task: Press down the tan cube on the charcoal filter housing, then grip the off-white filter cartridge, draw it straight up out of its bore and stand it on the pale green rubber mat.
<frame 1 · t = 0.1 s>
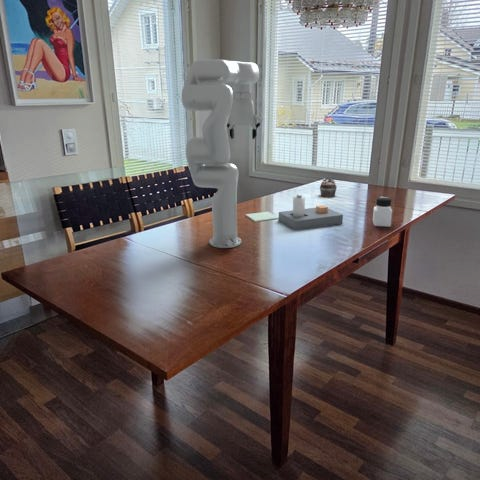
hand: (243, 138, 179), 37 cm above the table, tool pointing down, fingers open, 9 cm apart
cupcake: (327, 195, 236), on the table
housing: (309, 221, 187), on the table
medicine bottle: (381, 224, 181), on the table
mat: (261, 217, 195), on the table
cartridge: (298, 223, 185), resting in housing
tan cube: (321, 211, 187), point 4 cm above the table, slide at 0.0 cm
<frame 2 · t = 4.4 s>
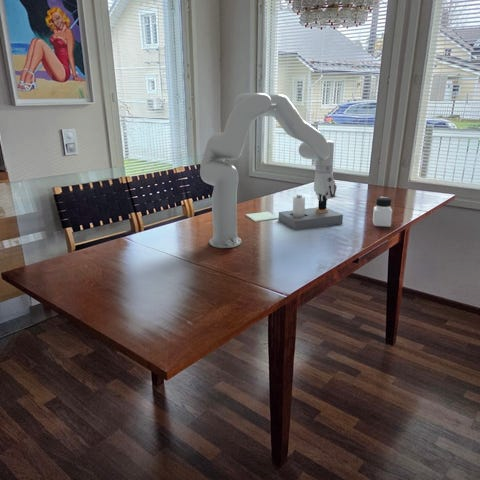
hand: (322, 208, 187), 5 cm above the table, tool pointing down, fingers closed
tan cube: (321, 213, 188), point 3 cm above the table, slide at 1.2 cm, touching gripper
everything else where it was.
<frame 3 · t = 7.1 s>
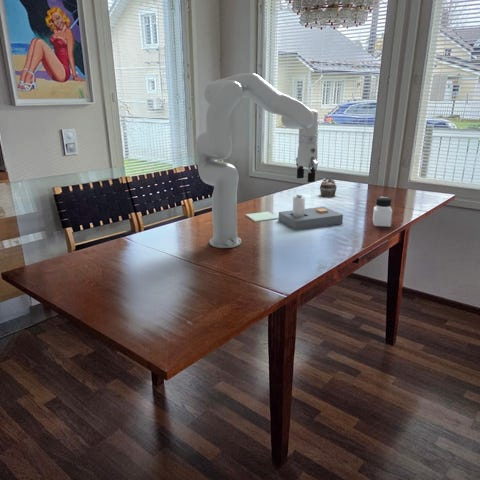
hand: (305, 179, 179), 20 cm above the table, tool pointing down, fingers open, 9 cm apart
tan cube: (321, 214, 188), point 3 cm above the table, slide at 1.5 cm
everything else where it was.
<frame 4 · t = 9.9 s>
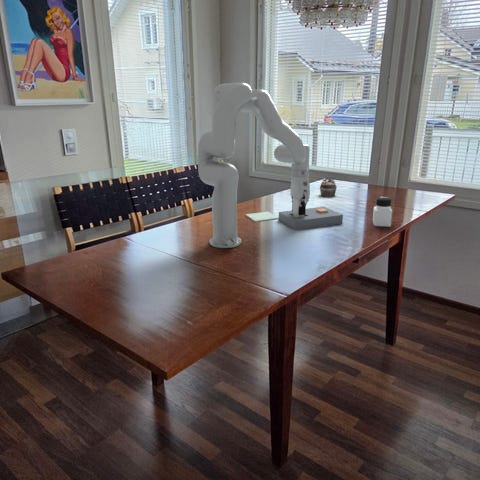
hand: (298, 212, 183), 5 cm above the table, tool pointing down, fingers closed on cartridge, 5 cm apart
cartridge: (298, 223, 185), resting in housing, touching gripper
everything else where it was.
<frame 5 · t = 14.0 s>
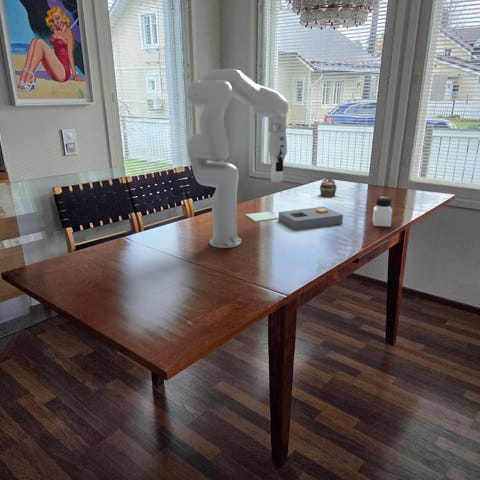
hand: (276, 169, 183), 23 cm above the table, tool pointing down, fingers closed on cartridge, 5 cm apart
cartridge: (276, 180, 185), point 18 cm above the table, touching gripper
everything else where it was.
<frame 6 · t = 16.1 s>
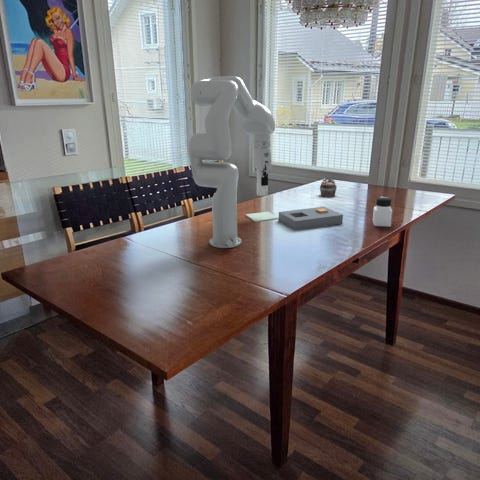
hand: (262, 183, 190), 16 cm above the table, tool pointing down, fingers closed on cartridge, 5 cm apart
cartridge: (262, 194, 192), point 11 cm above the table, touching gripper
everything else where it was.
when the fingers open (7 cm above the table, at t = 18.1 s): cartridge drops 1 cm, resting on mat.
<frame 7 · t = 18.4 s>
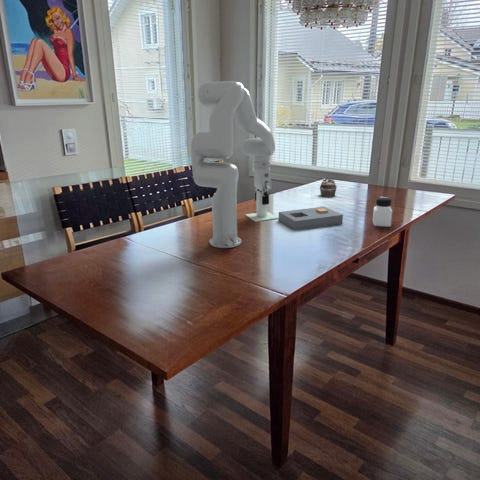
hand: (261, 202, 193), 7 cm above the table, tool pointing down, fingers open, 7 cm apart
cartridge: (261, 215, 195), point 1 cm above the table, touching mat
everything else where it was.
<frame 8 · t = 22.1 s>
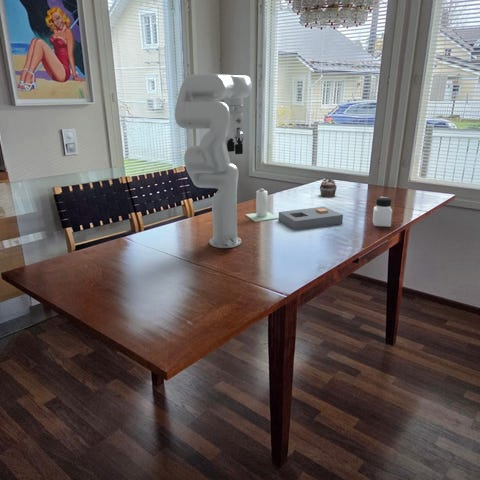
hand: (234, 152, 172), 32 cm above the table, tool pointing down, fingers open, 9 cm apart
nothing on the table moved.
at the end: tan cube slide at 1.5 cm; cartridge inside the target area on the mat (0.0 cm from its centre), point 0.6 cm above the mat's base; cartridge tilted 0° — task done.
